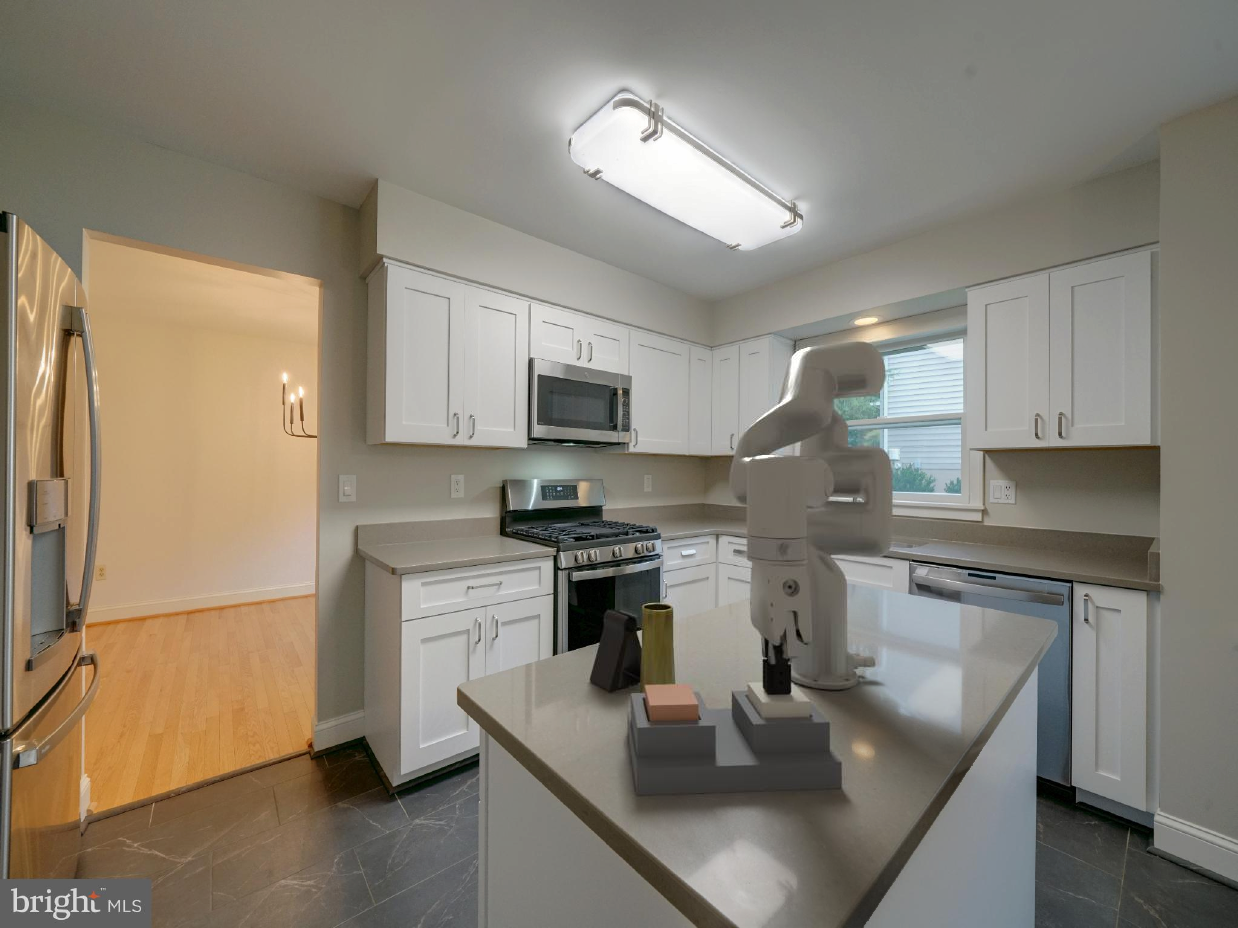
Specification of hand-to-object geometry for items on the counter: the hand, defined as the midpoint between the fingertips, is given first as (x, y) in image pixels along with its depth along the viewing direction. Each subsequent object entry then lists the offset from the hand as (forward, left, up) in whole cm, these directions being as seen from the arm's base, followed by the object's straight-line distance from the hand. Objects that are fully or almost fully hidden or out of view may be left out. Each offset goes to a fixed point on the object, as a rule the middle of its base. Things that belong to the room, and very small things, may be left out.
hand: (776, 691), depth 66 cm
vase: (+13, -20, -9) cm, 25 cm away
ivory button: (0, 0, -3) cm, 3 cm away
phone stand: (+19, -25, -9) cm, 33 cm away
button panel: (+7, 0, -8) cm, 11 cm away
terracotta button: (+14, 0, -3) cm, 14 cm away
